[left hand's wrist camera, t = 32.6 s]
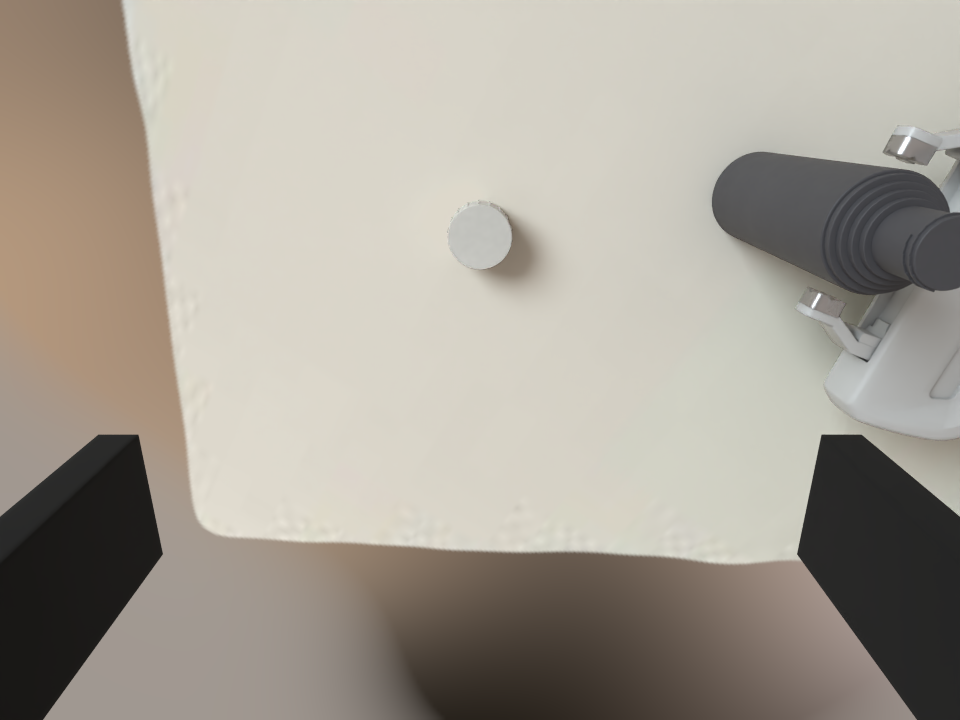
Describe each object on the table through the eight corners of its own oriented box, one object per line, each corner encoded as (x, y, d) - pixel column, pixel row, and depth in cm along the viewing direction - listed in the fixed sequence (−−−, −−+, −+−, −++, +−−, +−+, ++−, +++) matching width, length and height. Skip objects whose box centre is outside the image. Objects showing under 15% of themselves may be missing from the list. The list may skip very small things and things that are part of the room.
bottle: (734, 139, 40) (928, 157, 23) (813, 168, 41) (1060, 206, 23) (697, 223, 42) (851, 300, 25) (773, 249, 43) (975, 342, 25)
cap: (436, 238, 42) (433, 243, 40) (474, 186, 41) (474, 190, 39) (485, 275, 43) (485, 283, 41) (524, 226, 42) (526, 231, 40)
